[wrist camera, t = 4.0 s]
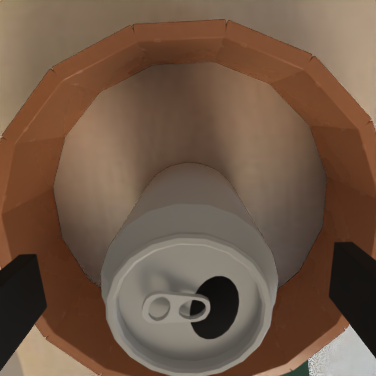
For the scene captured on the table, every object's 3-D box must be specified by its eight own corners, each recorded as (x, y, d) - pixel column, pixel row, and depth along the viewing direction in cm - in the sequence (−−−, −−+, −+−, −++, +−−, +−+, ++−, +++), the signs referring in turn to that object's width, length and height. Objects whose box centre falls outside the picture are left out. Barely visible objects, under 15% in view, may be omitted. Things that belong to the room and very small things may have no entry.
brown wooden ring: (350, 42, 18) (424, 8, 13) (322, 324, 24) (364, 389, 18) (18, 58, 19) (-58, 33, 13) (69, 331, 25) (32, 398, 19)
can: (225, 258, 23) (262, 409, 11) (135, 242, 22) (75, 380, 11) (247, 171, 21) (321, 242, 9) (150, 151, 20) (96, 199, 9)
